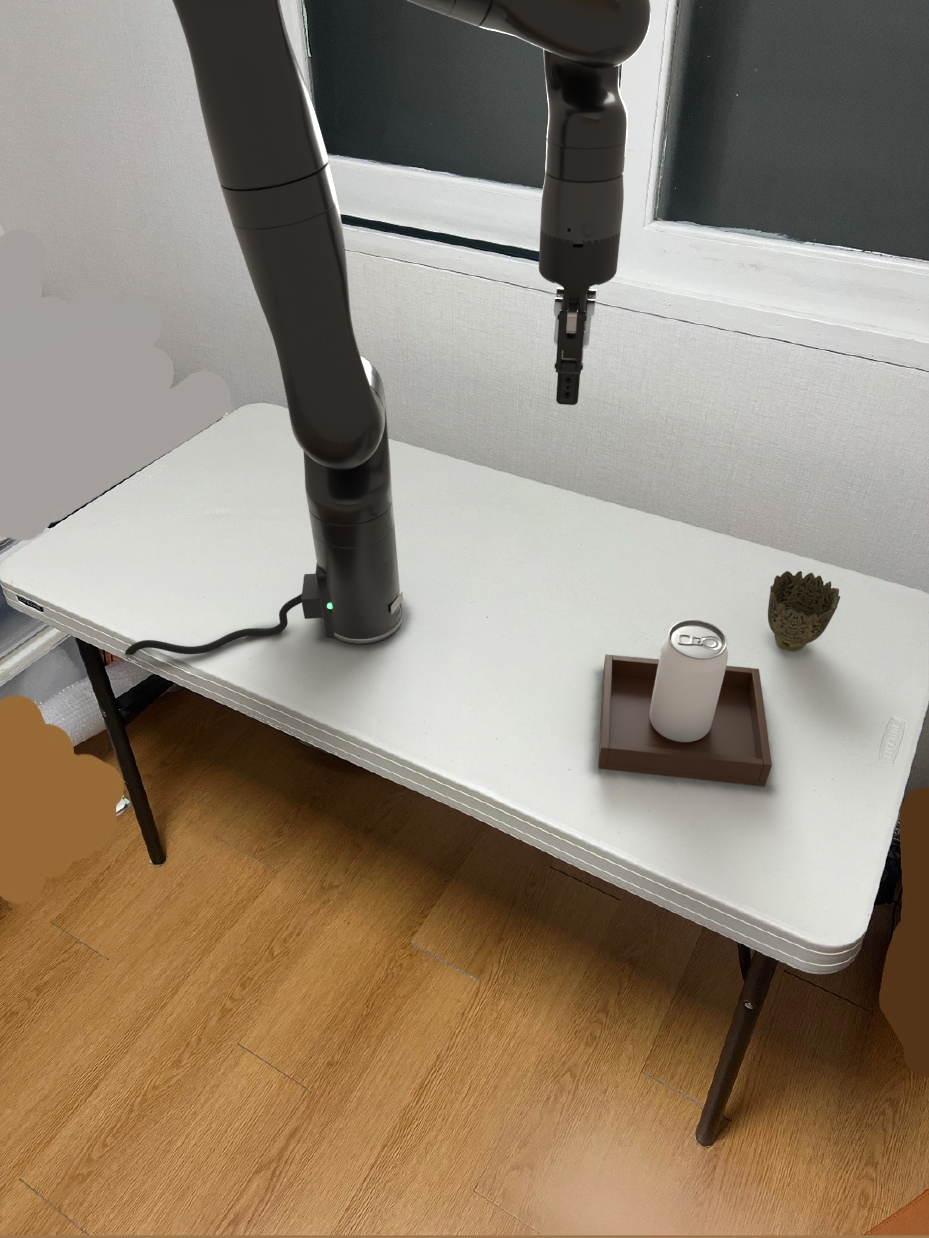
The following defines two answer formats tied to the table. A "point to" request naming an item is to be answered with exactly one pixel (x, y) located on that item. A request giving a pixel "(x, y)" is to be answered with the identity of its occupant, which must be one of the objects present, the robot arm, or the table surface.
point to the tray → (719, 756)
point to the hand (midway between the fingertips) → (569, 383)
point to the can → (688, 680)
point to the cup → (800, 609)
